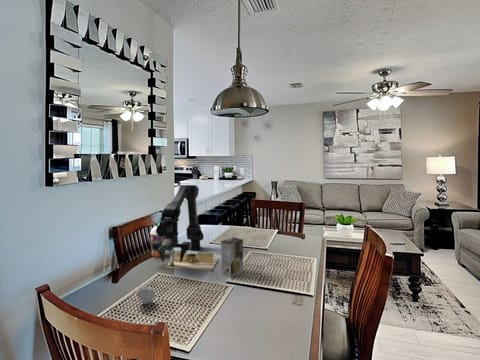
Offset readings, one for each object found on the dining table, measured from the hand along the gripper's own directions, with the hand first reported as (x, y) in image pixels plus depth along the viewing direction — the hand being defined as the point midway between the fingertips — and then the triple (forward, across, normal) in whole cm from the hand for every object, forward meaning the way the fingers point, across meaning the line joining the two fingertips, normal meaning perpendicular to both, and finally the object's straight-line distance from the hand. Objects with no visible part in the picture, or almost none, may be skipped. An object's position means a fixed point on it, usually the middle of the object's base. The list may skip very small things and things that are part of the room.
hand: (172, 262), depth 145 cm
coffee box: (+3, +31, -4) cm, 31 cm away
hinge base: (+2, +4, +8) cm, 9 cm away
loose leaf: (+1, +15, +8) cm, 17 cm away
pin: (+2, 0, 0) cm, 2 cm away
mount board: (+2, +9, +5) cm, 11 cm away
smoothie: (+3, -13, +14) cm, 19 cm away
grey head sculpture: (+3, +3, -37) cm, 37 cm away
